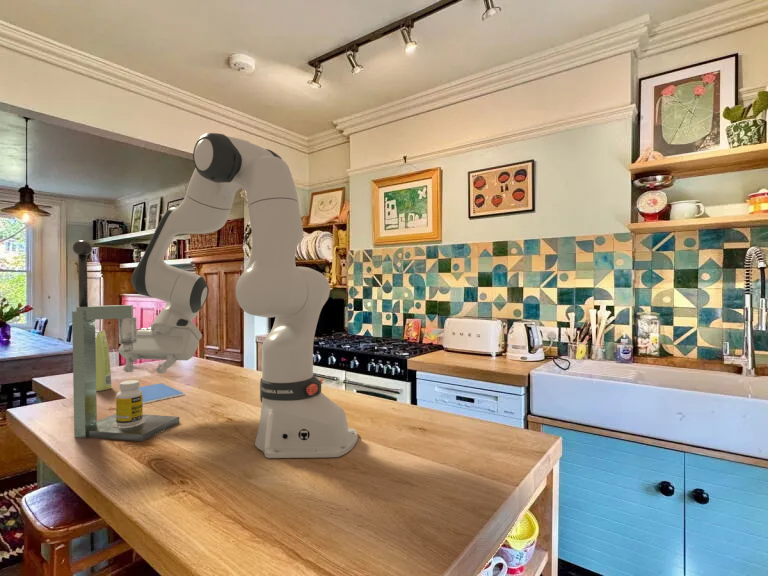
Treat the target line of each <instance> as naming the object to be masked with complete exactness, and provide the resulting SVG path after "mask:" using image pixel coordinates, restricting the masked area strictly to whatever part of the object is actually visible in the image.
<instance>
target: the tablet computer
mask: <svg viewBox="0 0 768 576" xmlns="http://www.w3.org/2000/svg"><path fill="white" fill-rule="evenodd" d="M138 389H140V390H141V391H142V394H143V405H147V404H151V403H150V402H152V403H156V402H155V401H157V402H160V401H159V400H161V401H164V400H163V399H166V400H168V399H167V398H171V399H174V398H173V397H175V398H178V397H177V396H180V397H183V396H182V395H184V396H186V392H183V391H182V390H178V389H176V388H175V387H171V386H170V385H167V384H165V383H161V382H160V383H155V384H149V385H144V386H139V387H138ZM146 403H147V404H146Z"/></svg>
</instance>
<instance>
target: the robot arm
mask: <svg viewBox="0 0 768 576" xmlns="http://www.w3.org/2000/svg"><path fill="white" fill-rule="evenodd" d="M192 161H193V164H194V167H195V168H194V171H193V173H192V175H191V177H190V180H189V182H188V186H187V188H186V192H185V195H184V198H183V200H181V202H180V204H179V205H178V206H172V207H170V208H169V209H168V210H166V212H165V213H164V214H163V216H162V217H161V219H160V221H159V223H158V225H157V227H156V228H155V231H154V232H153V235H152V237H151V239H150V241H149V243H148V245H147V247H146V249H145V252H144V253H143V255H142V257H141V258H140V261H139V262H138V263H137V266H136V267H135V269H134V271H133V273H132V274H131V276H130V283H131V285H132V287H133V289H134V290H135V292H136V294H137V295H140V296H145V297H149V298H155V299H157V300H161V301H163V302H165V307H164V308H163V309H162V310H160V311H159V313H158V314H157V316H156V317H155V319H154V320H153V322H152V324H151V325H150V327H141V328H139V329H136V331H137V342H136V343H133V351H128V352H123V344H120V346H119V347H118V348H117V349H118V353H119V354H120V356H122V357H123V358H124V359H125V365H124V367H122V368H123V371H124V372H125V373H132V372H134V370H135V369H136V366H135V365H134V363H135V362H137V360H157V361H158V360H159V361H160V360H161V361H164V362H163V363H161V364H158V366H157V367H156V370H155V372H156V373H158V374H163V375H164V374H165V373H166V372H167V370H168V369H169V368H170V367H172V366H173V365H175V364H176V362H177V361H189V360H190V359H192V358H193V357H194V355H195V353H196V351H197V350H198V347H199V343H200V342H199V341H200V340H201V339H202V337H203V333H201V330H199V328H198V327H197V326H196V324H195V323H194V322H193V320H194V319H195V318H197V316H198V314H199V312H200V311H201V310H202V308H203V307H204V305H205V303H206V302H207V299H208V296H209V290H210V289H209V286H208V284H207V282H206V279H205V277H203V276H201V275H199V274H196V273H194V272H191V271H188V270H184V269H182V268H178V267H176V266H174V265H170V264H167V263H166V262H165V260H164V258H165V255H166V253H167V251H168V249H169V247H170V245H171V244H172V242H173V240H174V237H176V236H177V235H204V234H211V233H215V232H217V231H218V230H220V229H222V228H223V227H224V226H225V225H226V223H227V221H228V219H229V216H230V214H231V210H232V207H233V204H234V201H235V196H236V194H237V192H239V190H244V191H245V192H246V200H247V207H248V216H249V220H250V221H249V222H250V230H251V238H252V243H251V244H252V247H251V252H250V258H249V262H248V265H247V267H246V269H245V270H244V271H243V272H242V273H241V274H240V276H239V277H238V279H237V281H236V285H235V297H236V302H237V303H238V305H239V307H240V308H241V309H242V311H244V312H245V313H247V314H248V315H250V316H251V315H252V316H256V317H261V318H274V321H273V326H272V328H271V330H270V332H269V334H268V335H267V336H266V337H265V339H264V340H263V342H262V345H261V375H262V376H261V378H260V380H259V381H260V385H259V386H260V387H259V398H260V403H261V406H260V407H261V408H260V419H259V425H258V428H257V429H258V430H257V434H256V438H255V441H254V446H255V447H256V448H257V449H258V450H261V452H263V454H264V456H265V458H266V459H267V458H268V459H291V458H292V459H293V458H294V459H296V458H297V459H299V458H303V459H306V458H310V459H311V458H339V457H341V456H343V455H344V456H345V455H346V454H347V453H348V452H350V451H351V450H352V449H353V448H354V447H355V446H356V444H357V442H358V431H357V430H356V429H355V428H353V427H349V425H348V418H347V415H346V412H345V410H344V409H343V408H342V407H341V406H340V405H338V404H337V403H335V401H333V400H331V399H330V398H329V397H328V396H326V395H325V394H324V393H322V384H324V378H321V379H319V378H317V377H316V376H315V375H314V343H315V342H314V339H315V335H316V329H317V325H318V322H319V318H320V315H321V312H322V309H323V307H324V306H325V304H326V302H328V300H329V298H330V293H331V287H330V282H329V281H328V278H327V277H326V276H325V275H324V274H323V273H321V272H320V271H318V270H315V269H314V268H311V267H306V266H296V253H297V248H298V245H299V244H300V243H301V242H302V240H303V239H304V227H303V224H302V222H303V221H302V216H301V210H300V203H299V197H298V193H297V188H296V185H295V182H294V181H295V180H294V177H293V175H292V173H291V170H290V167H289V165H288V163H287V162H286V161H285V160H284V159H283V158H282V157H281V156H280V155H279V154H278V153H276V152H274V151H273V150H271V149H269V148H268V149H267V148H263V147H261V146H260V145H257V144H254V143H251V141H248V140H245V139H241V138H237V137H233V136H227V135H225V134H223V133H216V132H208V133H204V134H203V135H201V136H200V137H199V138H198V140H197V141H196V143H195V145H194V148H193V152H192Z"/></svg>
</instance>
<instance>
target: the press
mask: <svg viewBox="0 0 768 576" xmlns="http://www.w3.org/2000/svg"><path fill="white" fill-rule="evenodd" d="M72 250H73V252H74V253H75V255H77V260H78V262H77V263H78V306H76V310H72V311H71V321H72V322H71V326H72V327H71V328H72V329H71V330H72V333H71V334H72V375H73V376H72V380H73V381H72V382H73V385H72V387H73V421H74V422H73V429H74V430H73V433H74V434H73V435H74V438H78V439H79V438H81V439H87V438H93V439H95V438H96V439H105V440H118V441H119V440H120V441H135V442H144V441H146V440H149V439H150V438H152V437H154V436H156V435H158V434H160V433H162V432H164V431H166V430H168V429H170V428H171V427H174V426H175V425H178V424H179V423H180V416H177V415H176V416H175V415H159V414H158V415H157V414H143V418H142V421H141V422H139V423H136V424H133V425H126V426H120V425H117V423H116V413H114V414H111V415H109V416H107V417H103V418H100V419H98V413H97V409H98V407H97V391H96V320H115V319H118V344H120V345H121V344H123V352H128V351H133V343H136V342H137V317H136V316H134V304H124V305H122V304H119V305H118V304H116V305H115V304H114V305H113V304H111V305H89V303H88V300H89V293H88V256H89V255H90V254H91V253H92V252H93V246H92V244H91V243H90V242H88V241H87V240H77V241H75V242H74V243H73V244H72ZM163 430H164V431H163ZM161 431H162V432H161ZM159 432H160V433H159ZM157 433H158V434H157ZM155 434H156V435H155ZM153 435H154V436H153ZM151 436H152V437H151Z"/></svg>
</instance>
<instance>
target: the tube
mask: <svg viewBox="0 0 768 576" xmlns="http://www.w3.org/2000/svg"><path fill="white" fill-rule="evenodd" d="M95 343H96V392H100V391H107V390H110V389H111V388H112V374H111V373H112V372H111V363H110V362H111V360H110V351H109V344H108V338H107V334H106V329H102V330H100V331H97V334H96V336H95Z"/></svg>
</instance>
